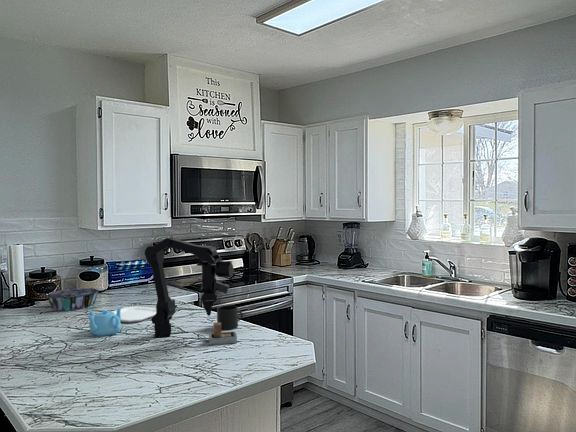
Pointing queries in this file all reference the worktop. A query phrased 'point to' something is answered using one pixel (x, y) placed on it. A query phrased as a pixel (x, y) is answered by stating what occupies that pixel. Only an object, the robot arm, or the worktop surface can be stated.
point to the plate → (136, 314)
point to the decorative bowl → (72, 299)
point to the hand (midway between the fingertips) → (208, 312)
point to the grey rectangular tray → (222, 339)
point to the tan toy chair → (219, 331)
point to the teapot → (105, 322)
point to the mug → (228, 317)
